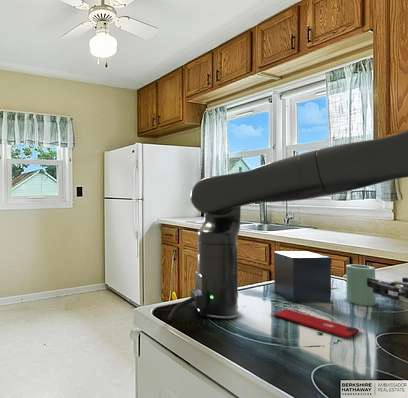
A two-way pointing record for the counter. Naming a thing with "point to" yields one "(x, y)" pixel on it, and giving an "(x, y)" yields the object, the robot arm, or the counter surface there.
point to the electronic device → (317, 323)
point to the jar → (359, 284)
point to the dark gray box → (302, 276)
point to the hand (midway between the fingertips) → (385, 281)
